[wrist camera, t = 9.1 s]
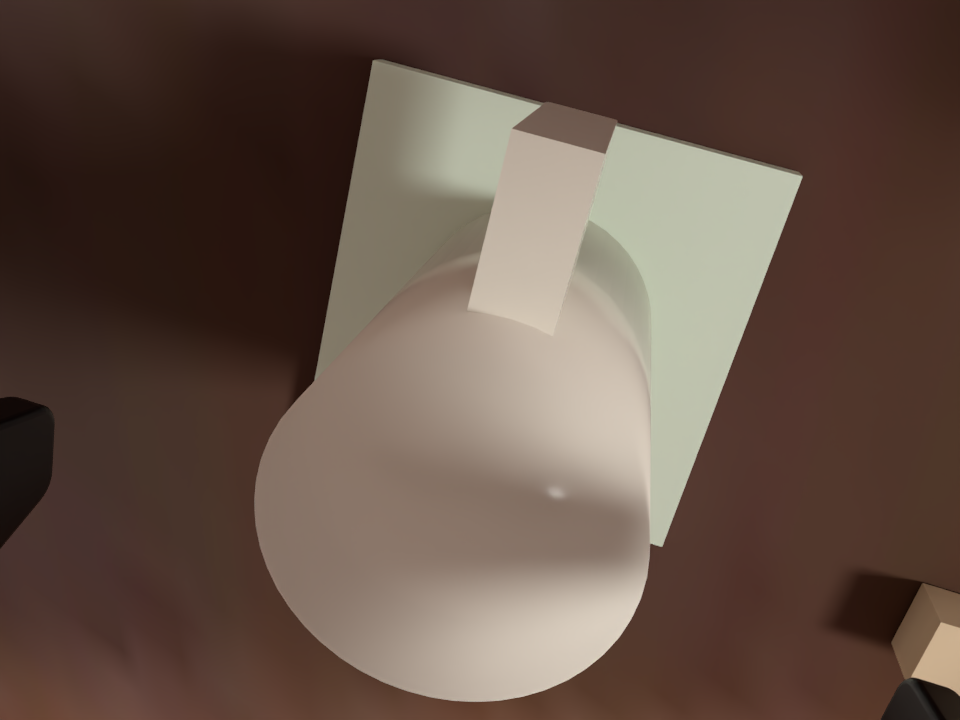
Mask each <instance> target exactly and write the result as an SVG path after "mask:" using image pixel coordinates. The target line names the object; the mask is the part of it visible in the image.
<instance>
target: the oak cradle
mask: <svg viewBox="0 0 960 720" xmlns="http://www.w3.org/2000/svg"><path fill="white" fill-rule="evenodd" d="M891 644H892V646H893V649H894V652H895V654H896V657H897V660H898V662H899V665H900V668H901V670H902V673H903V676H904V678H905V679H908V678H912V677H914V678H918V679H922V680H925V681H928V682H931V683H935V684H938V685H941V686H944V687H947V688H949V689H951V690H953V691H955V692H956V693H957V694H958V695H959V696H960V594H958V593H954V592H951V591H948V590H945V589H941V588H938V587H935V586H931V585H928V584H925V583H922V585H921V587H920V588H919V590H918V592H917V594H916V596H915V598H914V600H913V602H912V604H911V606H910V608H909V609H908V611H907V613H906V615H905V617H904V619H903V621H902V623H901V625H900V627H899V628H898V630H897V632H896V634H895V636H894V638H893V640H892V642H891Z"/></svg>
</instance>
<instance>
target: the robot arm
mask: <svg viewBox="0 0 960 720" xmlns="http://www.w3.org/2000/svg"><path fill="white" fill-rule="evenodd" d="M54 425H55V424H54V416H53V413H52V412H51V410H50V409H49V408H48V407H46V406H44V405H41V404H37V403H34V402H31V401H28V400H25V399H21V398H18V397H5V398H0V549H1V547H2V546H3V545H4V544H5V542H6V541H7V540H8V539H9V538H10V536H11V535H12V534H13V533H14V532H15V530H16V529H17V528H18V527H19V525H20V524H21V523H22V522H23V521H24V519H25V518H26V517H27V516H28V515H29V513H30V512H31V511H32V510H33V508H34V507H35V506H36V505H37V504H38V502H39V501H40V500H41V499H42V497H43V496H44V494H45V492H46V491H47V489H48V486H49V484H50V480H51V476H52V464H53V444H54ZM881 720H960V696H959V695H958V694H957V693H956V692H955V691H953V690H951V689H949V688H947V687H944V686H941V685H938V684H935V683H931V682H928V681H925V680H922V679H918V678H914V677H912V678H908V679H905V680H904V681H903V682H902V683H901V684H900V685H899V687H898V688H897V690H896V692H895V694H894V695H893V697H892V699H891V701H890V703H889V705H888V707H887V708H886V710H885V712H884V714H883V716H882V718H881Z"/></svg>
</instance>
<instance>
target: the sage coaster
mask: <svg viewBox="0 0 960 720" xmlns="http://www.w3.org/2000/svg"><path fill="white" fill-rule="evenodd" d="M543 104H544V103H542V102H538V101H534V100H531V99H527V98H523V97H519V96H516V95H512V94H508V93H505V92H501V91H497V90H494V89H490V88H486V87H482V86H479V85H475V84H471V83H468V82H464V81H460V80H457V79H453V78H449V77H445V76H442V75H438V74H434V73H431V72H427V71H423V70H420V69H416V68H412V67H408V66H405V65H401V64H397V63H394V62H390V61H386V60H383V59H378V60H373V63H372V68H371V73H370V79H369V84H368V90H367V95H366V101H365V106H364V112H363V117H362V123H361V128H360V134H359V139H358V145H357V150H356V156H355V161H354V167H353V172H352V178H351V183H350V188H349V194H348V199H347V205H346V210H345V216H344V221H343V227H342V232H341V238H340V243H339V249H338V254H337V260H336V265H335V271H334V276H333V282H332V287H331V293H330V298H329V303H328V309H327V314H326V320H325V325H324V331H323V336H322V342H321V347H320V353H319V358H318V364H317V369H316V375H315V380H316V379H317V378H318V377H319V376H320V375H321V374H322V372H323V371H324V370H325V369H326V368H327V367H328V366H329V365H330V364H331V363H332V362H333V361H334V360H335V359H336V358H337V356H338V355H339V354H340V353H341V352H342V351H343V350H344V349H345V348H346V347H347V346H348V345H349V344H350V343H351V342H352V340H353V339H354V338H355V337H356V336H357V335H358V334H359V333H360V332H361V331H362V330H363V329H364V328H365V327H366V326H367V325H368V323H369V322H370V321H371V320H372V319H373V318H374V317H375V316H376V315H377V314H378V313H379V312H380V311H381V310H382V309H383V307H384V306H385V305H386V304H387V303H388V302H389V301H390V300H391V299H392V298H393V297H394V296H395V295H396V294H397V293H398V291H399V290H400V289H401V288H402V287H403V286H404V285H405V284H406V283H407V282H408V281H409V280H410V279H411V278H412V277H413V275H414V274H415V273H416V272H417V271H418V270H419V269H420V268H421V267H422V266H423V265H424V264H425V263H426V262H427V261H428V259H429V258H430V257H431V256H432V255H433V254H434V253H435V252H436V251H437V250H438V249H439V248H440V247H441V246H442V245H443V243H444V242H445V241H446V240H447V239H448V238H449V237H451V236H452V235H453V234H454V233H455V232H456V231H457V230H458V229H460V228H461V227H463V226H464V225H466V224H467V223H469V222H470V221H472V220H474V219H476V218H478V217H480V216H482V215H484V214H486V213H489V212H491V210H492V206H493V202H494V198H495V194H496V190H497V186H498V182H499V178H500V174H501V170H502V166H503V162H504V157H505V153H506V149H507V145H508V141H509V137H510V133H511V129H512V128H513V127H514V126H516V125H517V124H518V123H519V122H521V121H522V120H523V119H525V118H526V117H527V116H529V115H530V114H531V113H532V112H534V111H535V110H536V109H538V108H539V107H540V106H542V105H543ZM802 177H803V176H802V175H801V174H800V173H799V172H797V171H793V170H790V169H786V168H782V167H778V166H775V165H771V164H767V163H764V162H760V161H756V160H753V159H749V158H745V157H741V156H738V155H734V154H730V153H727V152H723V151H719V150H716V149H712V148H708V147H704V146H701V145H697V144H693V143H690V142H686V141H682V140H679V139H675V138H671V137H667V136H664V135H660V134H656V133H653V132H649V131H645V130H642V129H638V128H634V127H630V126H627V125H623V124H619V123H617V124H616V128H615V131H614V135H613V138H612V141H611V145H610V148H609V152H608V155H607V159H606V162H605V166H604V169H603V173H602V176H601V179H600V183H599V186H598V190H597V193H596V197H595V200H594V204H593V207H592V210H591V214H590V217H589V220H590V221H592V222H593V223H595V224H596V225H598V226H599V227H601V228H602V229H604V230H605V231H607V232H608V233H609V234H610V235H611V236H612V237H613V238H614V239H616V240H617V241H618V242H619V243H620V244H621V246H622V247H623V248H624V249H625V250H626V251H627V253H628V254H629V255H630V257H631V258H632V260H633V261H634V263H635V264H636V266H637V268H638V270H639V272H640V274H641V276H642V278H643V280H644V283H645V286H646V289H647V293H648V296H649V301H650V307H651V325H652V330H651V468H650V543H651V544H654V545H657V546H660V547H662V546H663V543H664V540H665V538H666V535H667V532H668V530H669V527H670V524H671V522H672V519H673V517H674V514H675V511H676V509H677V506H678V503H679V501H680V498H681V496H682V493H683V490H684V488H685V485H686V482H687V480H688V477H689V474H690V472H691V469H692V467H693V464H694V461H695V459H696V456H697V453H698V451H699V448H700V445H701V443H702V440H703V438H704V435H705V432H706V430H707V427H708V424H709V422H710V419H711V416H712V414H713V411H714V409H715V406H716V403H717V401H718V398H719V395H720V393H721V390H722V388H723V385H724V382H725V380H726V377H727V374H728V372H729V369H730V366H731V364H732V361H733V359H734V356H735V353H736V351H737V348H738V345H739V343H740V340H741V337H742V335H743V332H744V330H745V327H746V324H747V322H748V319H749V316H750V314H751V311H752V308H753V306H754V303H755V301H756V298H757V295H758V293H759V290H760V287H761V285H762V282H763V280H764V277H765V274H766V272H767V269H768V266H769V264H770V261H771V258H772V256H773V253H774V251H775V248H776V245H777V243H778V240H779V237H780V235H781V232H782V229H783V227H784V224H785V222H786V219H787V216H788V214H789V211H790V208H791V206H792V203H793V200H794V198H795V195H796V193H797V190H798V187H799V185H800V182H801V179H802ZM315 380H314V381H315Z"/></svg>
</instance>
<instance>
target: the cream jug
mask: <svg viewBox="0 0 960 720" xmlns="http://www.w3.org/2000/svg"><path fill="white" fill-rule="evenodd" d="M617 121H618V120H615V119H611V118H607V117H604V116H600V115H596V114H592V113H589V112H585V111H581V110H577V109H574V108H570V107H566V106H562V105H559V104H555V103H551V102H546V103H544V104H543V105H542V106H540V107H539V108H538V109H536V110H535V111H534V112H532V113H531V114H530V115H529V116H527V117H526V118H525V119H523V120H522V121H521V122H519V123H518V124H517V125H516V126H514V127H513V128H512V129H511V133H510V137H509V141H508V145H507V149H506V153H505V157H504V162H503V166H502V170H501V174H500V178H499V182H498V186H497V190H496V194H495V198H494V202H493V206H492V210H491V212H489V213H486V214H484V215H482V216H480V217H478V218H476V219H474V220H472V221H470V222H469V223H467V224H466V225H464V226H463V227H461V228H460V229H458V230H457V231H456V232H455V233H454V234H453V235H452V236H451V237H449V238H448V239H447V240H446V241H445V242H444V243H443V245H442V246H441V247H440V248H439V249H438V250H437V251H436V252H435V253H434V254H433V255H432V256H431V257H430V258H429V259H428V261H427V262H426V263H425V264H424V265H423V266H422V267H421V268H420V269H419V270H418V271H417V272H416V273H415V274H414V275H413V277H412V278H411V279H410V280H409V281H408V282H407V283H406V284H405V285H404V286H403V287H402V288H401V289H400V290H399V291H398V293H397V294H396V295H395V296H394V297H393V298H392V299H391V300H390V301H389V302H388V303H387V304H386V305H385V306H384V307H383V309H382V310H381V311H380V312H379V313H378V314H377V315H376V316H375V317H374V318H373V319H372V320H371V321H370V322H369V323H368V325H367V326H366V327H365V328H364V329H363V330H362V331H361V332H360V333H359V334H358V335H357V336H356V337H355V338H354V339H353V340H352V342H351V343H350V344H349V345H348V346H347V347H346V348H345V349H344V350H343V351H342V352H341V353H340V354H339V355H338V356H337V358H336V359H335V360H334V361H333V362H332V363H331V364H330V365H329V366H328V367H327V368H326V369H325V370H324V371H323V372H322V374H321V375H320V376H319V377H318V378H317V379H316V380H315V381H314V382H313V383H312V384H311V385H310V386H309V387H308V388H307V390H306V391H305V392H304V393H303V394H302V395H301V396H300V397H299V398H298V399H297V400H296V401H295V403H294V404H293V405H292V406H291V407H290V409H289V410H288V411H287V412H286V413H285V415H284V416H283V417H282V418H281V420H280V421H279V423H278V425H277V426H276V428H275V430H274V431H273V433H272V435H271V436H270V438H269V440H268V443H267V445H266V448H265V450H264V453H263V455H262V458H261V461H260V466H259V470H258V474H257V478H256V487H255V498H254V507H255V524H256V529H257V534H258V539H259V544H260V548H261V551H262V554H263V557H264V560H265V563H266V566H267V568H268V571H269V573H270V575H271V577H272V579H273V581H274V583H275V585H276V587H277V589H278V590H279V592H280V594H281V595H282V597H283V598H284V600H285V601H286V603H287V605H288V606H289V608H290V609H291V610H292V611H293V613H294V614H295V615H296V616H297V618H298V619H299V620H300V621H301V622H302V624H303V625H304V626H305V627H306V628H307V629H308V630H309V631H310V632H311V633H312V634H313V635H314V636H315V637H316V638H317V639H318V640H319V641H320V642H321V643H322V644H324V645H325V646H326V647H327V648H329V649H330V650H331V651H332V652H334V653H335V654H336V655H337V656H339V657H340V658H341V659H343V660H344V661H346V662H348V663H349V664H351V665H352V666H354V667H355V668H357V669H359V670H360V671H362V672H364V673H366V674H368V675H370V676H372V677H374V678H376V679H378V680H380V681H382V682H384V683H387V684H389V685H392V686H395V687H397V688H400V689H403V690H405V691H409V692H413V693H416V694H420V695H424V696H427V697H433V698H439V699H445V700H452V701H469V702H483V701H500V700H506V699H512V698H518V697H523V696H527V695H530V694H534V693H537V692H540V691H544V690H546V689H549V688H551V687H553V686H556V685H558V684H560V683H562V682H565V681H567V680H568V679H570V678H572V677H573V676H575V675H577V674H578V673H580V672H582V671H583V670H585V669H586V668H588V667H589V666H590V665H591V664H593V663H594V662H595V661H596V660H597V659H599V658H600V657H601V656H602V655H604V653H605V652H606V651H607V650H608V649H609V648H610V647H611V646H612V645H613V644H614V643H615V642H616V640H617V639H618V638H619V637H620V635H621V634H622V632H623V631H624V629H625V628H626V626H627V625H628V623H629V622H630V620H631V619H632V616H633V614H634V612H635V610H636V608H637V606H638V604H639V602H640V599H641V596H642V593H643V589H644V586H645V582H646V579H647V573H648V565H649V557H650V468H651V330H652V325H651V307H650V301H649V296H648V293H647V289H646V286H645V283H644V280H643V278H642V276H641V274H640V272H639V270H638V268H637V266H636V264H635V263H634V261H633V260H632V258H631V257H630V255H629V254H628V253H627V251H626V250H625V249H624V248H623V247H622V246H621V244H620V243H619V242H618V241H617V240H616V239H614V238H613V237H612V236H611V235H610V234H609V233H608V232H607V231H605V230H604V229H602V228H601V227H599V226H598V225H596V224H595V223H593V222H592V221H590V220H589V217H590V214H591V210H592V207H593V204H594V200H595V197H596V193H597V190H598V186H599V183H600V179H601V176H602V173H603V169H604V166H605V162H606V159H607V155H608V152H609V148H610V145H611V141H612V138H613V135H614V131H615V128H616V124H617Z"/></svg>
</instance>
